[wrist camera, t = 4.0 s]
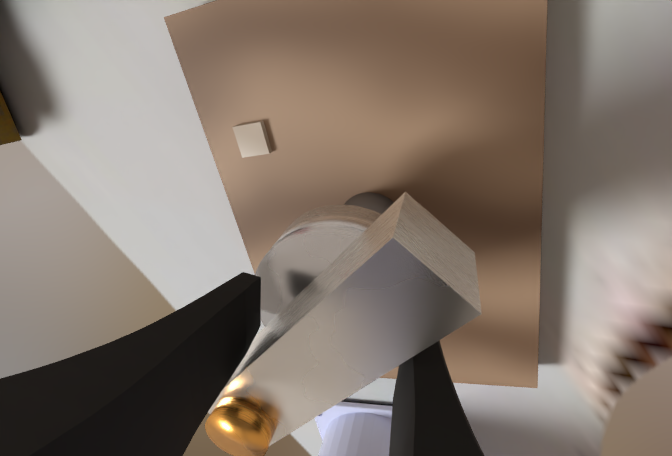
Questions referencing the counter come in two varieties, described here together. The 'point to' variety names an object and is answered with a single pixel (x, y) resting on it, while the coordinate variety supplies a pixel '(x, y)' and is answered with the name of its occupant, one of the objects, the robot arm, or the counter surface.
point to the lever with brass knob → (342, 315)
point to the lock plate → (387, 135)
